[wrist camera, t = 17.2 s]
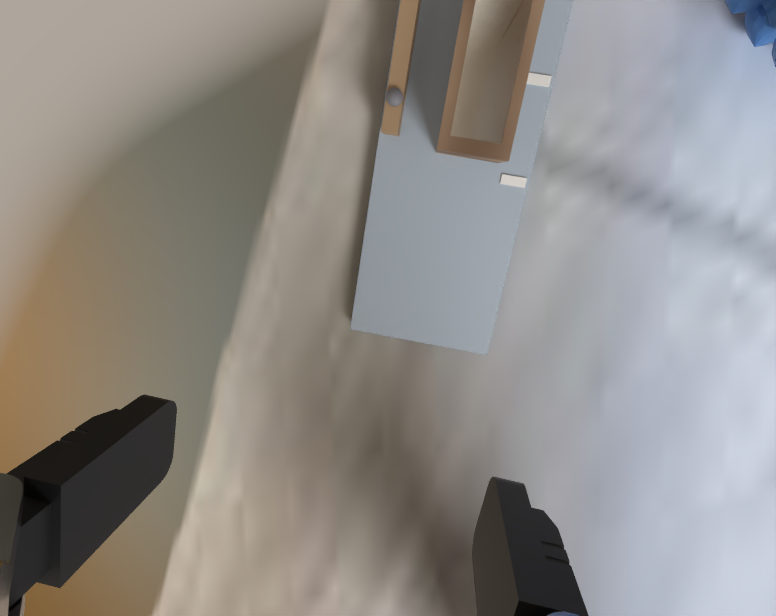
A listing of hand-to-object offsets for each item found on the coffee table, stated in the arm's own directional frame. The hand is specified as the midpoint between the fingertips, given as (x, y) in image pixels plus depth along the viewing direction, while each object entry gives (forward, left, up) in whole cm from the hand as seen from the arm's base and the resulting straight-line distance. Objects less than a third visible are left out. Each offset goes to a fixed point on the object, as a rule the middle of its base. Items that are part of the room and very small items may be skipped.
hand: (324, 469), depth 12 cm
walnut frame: (-3, -14, -22) cm, 26 cm away
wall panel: (-2, -8, -23) cm, 24 cm away
